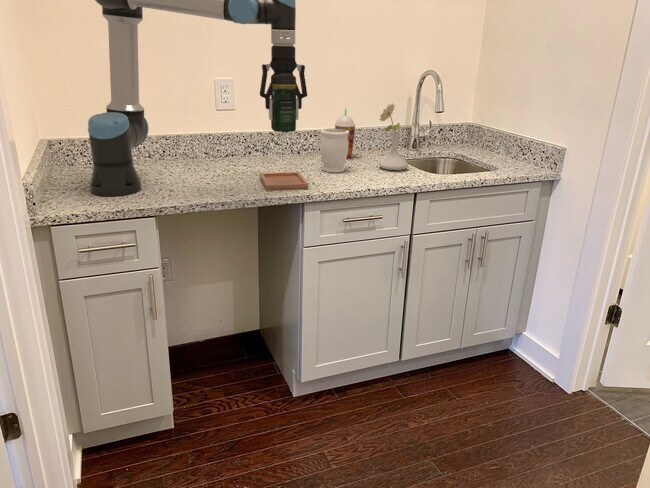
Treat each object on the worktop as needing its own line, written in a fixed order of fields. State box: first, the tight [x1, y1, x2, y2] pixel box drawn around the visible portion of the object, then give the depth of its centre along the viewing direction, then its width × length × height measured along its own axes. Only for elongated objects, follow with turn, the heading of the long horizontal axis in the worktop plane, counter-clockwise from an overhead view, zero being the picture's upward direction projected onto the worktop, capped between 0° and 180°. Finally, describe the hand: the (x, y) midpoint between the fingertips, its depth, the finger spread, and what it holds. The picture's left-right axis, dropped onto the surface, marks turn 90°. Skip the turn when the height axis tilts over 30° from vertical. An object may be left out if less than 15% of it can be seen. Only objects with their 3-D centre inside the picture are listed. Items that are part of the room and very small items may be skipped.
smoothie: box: [334, 108, 356, 160], centre depth 220 cm, size 8×8×20 cm
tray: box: [259, 171, 309, 192], centre depth 183 cm, size 14×16×2 cm
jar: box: [319, 128, 349, 174], centre depth 200 cm, size 11×10×15 cm
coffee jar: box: [270, 72, 297, 134], centre depth 173 cm, size 10×8×19 cm
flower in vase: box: [378, 102, 409, 171], centre depth 202 cm, size 13×11×25 cm
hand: (283, 119), depth 175 cm, fingers closed on coffee jar, 8 cm apart
